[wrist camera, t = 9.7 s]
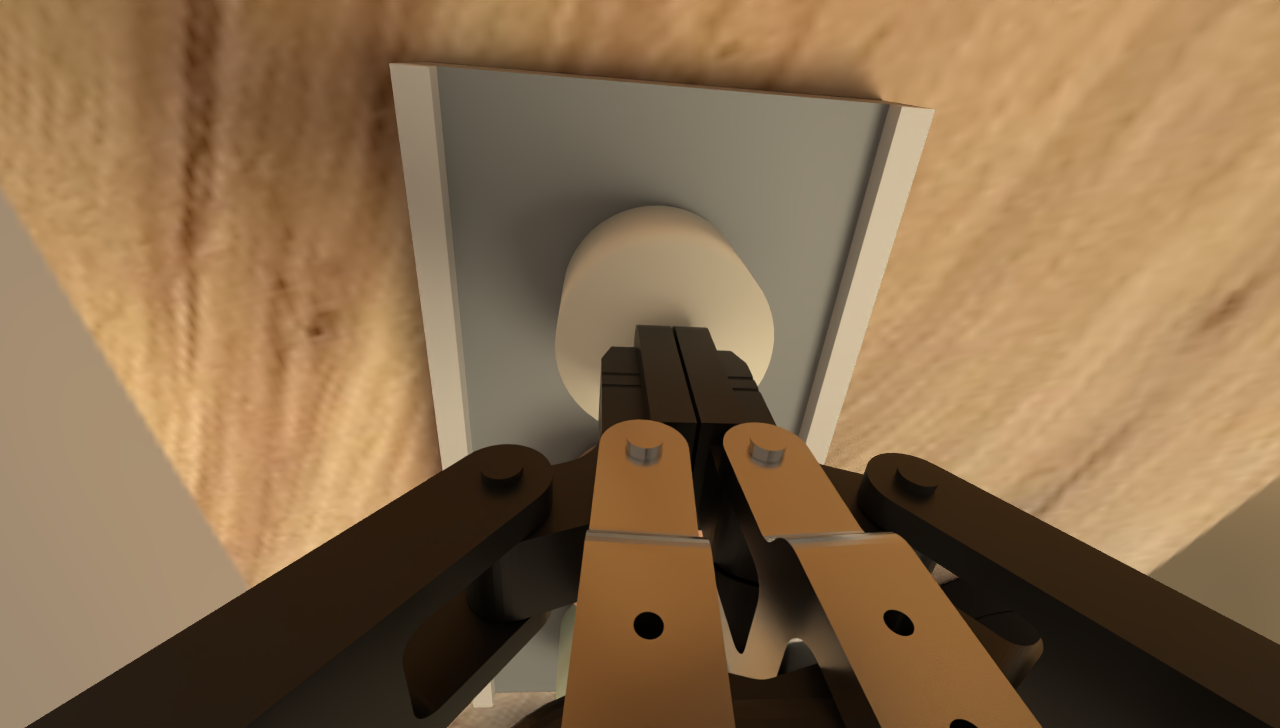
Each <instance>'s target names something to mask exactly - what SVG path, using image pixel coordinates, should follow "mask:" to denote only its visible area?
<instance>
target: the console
mask: <svg viewBox="0 0 1280 728" xmlns="http://www.w3.org/2000/svg"><path fill="white" fill-rule="evenodd" d="M389 66H390V73H391V81H392V89H393V96H394V104H395V112H396V119H397V127H398V134H399V142H400V150H401V157H402V165H403V172H404V180H405V188H406V195H407V203H408V211H409V218H410V226H411V233H412V241H413V249H414V256H415V264H416V272H417V279H418V287H419V294H420V302H421V310H422V317H423V325H424V332H425V340H426V348H427V355H428V363H429V371H430V378H431V386H432V393H433V401H434V409H435V416H436V424H437V432H438V439H439V447H440V454H441V462H442V470H444V469H446V468H448V467H449V466H451V465H453V464H454V463H456V462H457V461H459V460H461V459H462V458H464V457H466V456H467V455H469V454H471V453H473V452H474V451H477V450H479V449H482V448H485V447H489V446H493V445H499V444H516V445H522V446H526V447H530V448H532V449H535V450H537V451H538V452H540V453H541V454H543V455H544V456H545V457H546V458H547V459H548V461H549V462H550V464H551V465H555V464H560V463H565V462H569V461H572V460H575V459H577V458H578V457H579V456H580V455H582V454H583V453H584V452H585V451H587V450H588V449H590V448H591V447H593V446H595V445H597V444H598V436H599V435H598V420H596V419H594V418H593V417H592V416H591V415H589V414H588V413H587V412H585V411H584V410H583V409H582V408H581V407H580V406H579V405H578V404H577V403H576V401H575V400H574V399H573V397H572V396H571V395H570V393H569V392H568V390H567V388H566V387H565V385H564V383H563V381H562V378H561V376H560V373H559V371H558V366H557V362H556V355H555V336H556V328H557V321H558V315H559V309H560V302H561V296H562V290H563V284H564V278H565V274H566V270H567V267H568V264H569V262H570V259H571V257H572V255H573V253H574V252H575V250H576V248H577V247H578V245H579V244H580V243H581V241H582V240H583V239H584V238H585V237H586V236H587V235H588V234H589V232H590V231H591V230H593V229H594V228H595V227H596V226H598V225H599V224H600V223H601V222H603V221H605V220H606V219H608V218H610V217H612V216H613V215H616V214H618V213H620V212H623V211H625V210H629V209H633V208H636V207H643V206H670V207H676V208H680V209H684V210H687V211H690V212H692V213H694V214H697V215H699V216H700V217H702V218H704V219H705V220H707V221H709V222H710V223H711V224H712V225H714V226H715V227H716V228H717V229H718V230H719V231H720V232H721V233H722V234H723V235H724V236H725V237H726V238H727V240H728V241H729V243H730V244H731V246H732V247H733V249H734V250H735V252H736V253H737V255H738V256H739V258H740V259H741V260H742V262H743V263H744V265H745V266H746V268H747V269H748V271H749V272H750V274H751V275H752V277H753V278H754V280H755V281H756V282H757V284H758V285H759V287H760V288H761V290H762V291H763V293H764V295H765V297H766V299H767V302H768V304H769V307H770V310H771V314H772V318H773V325H774V345H773V351H772V356H771V359H770V363H769V366H768V368H767V370H766V373H765V375H764V377H763V379H762V380H761V382H760V384H759V385H758V388H759V392H761V394H762V396H763V399H764V401H765V403H766V405H767V407H768V409H769V411H770V413H771V415H772V417H773V419H774V421H775V423H776V425H777V426H778V427H781V428H783V429H786V430H788V431H790V432H792V433H793V434H795V435H796V436H798V437H799V438H800V439H801V440H803V441H804V442H805V444H806V445H807V446H808V448H809V449H810V451H811V452H812V454H813V455H814V457H815V458H816V460H817V461H818V463H819V464H822V465H824V463H825V460H826V456H827V453H828V450H829V447H830V444H831V440H832V437H833V434H834V431H835V428H836V425H837V421H838V418H839V415H840V412H841V409H842V405H843V402H844V399H845V396H846V393H847V389H848V386H849V383H850V380H851V377H852V374H853V370H854V367H855V364H856V361H857V358H858V354H859V351H860V348H861V345H862V342H863V338H864V335H865V332H866V329H867V326H868V323H869V319H870V316H871V313H872V310H873V307H874V303H875V300H876V297H877V294H878V291H879V287H880V284H881V281H882V278H883V275H884V272H885V268H886V265H887V262H888V259H889V256H890V252H891V249H892V246H893V243H894V240H895V237H896V233H897V230H898V227H899V224H900V221H901V217H902V214H903V211H904V208H905V205H906V201H907V198H908V195H909V192H910V189H911V186H912V182H913V179H914V176H915V173H916V170H917V166H918V163H919V160H920V157H921V154H922V150H923V147H924V144H925V141H926V138H927V135H928V131H929V128H930V125H931V122H932V119H933V115H934V112H935V109H930V108H924V107H918V106H912V105H906V104H900V103H895V102H889V101H881V100H870V99H858V98H846V97H834V96H823V95H811V94H799V93H787V92H776V91H764V90H752V89H740V88H729V87H717V86H705V85H693V84H682V83H670V82H658V81H646V80H635V79H623V78H611V77H599V76H588V75H576V74H564V73H552V72H541V71H529V70H517V69H505V68H494V67H482V66H470V65H458V64H447V63H435V62H406V63H389ZM572 605H573V604H570V605H567V606H564V607H560V608H557V609H554V610H552V611H551V614H550V617H549V618H548V620H547V622H546V623H545V625H544V626H543V627H542V628H541V629H540V630H539V631H538V632H537V634H536V635H535V636H534V637H533V638H532V639H531V640H530V641H529V642H528V643H527V644H526V645H525V646H524V647H523V648H522V649H521V650H520V651H519V652H518V653H517V654H516V655H515V657H514V658H513V659H512V660H511V661H510V662H509V663H508V664H507V665H506V666H505V667H504V668H503V669H502V670H501V671H500V672H499V673H498V674H497V675H496V676H495V677H494V678H493V680H492V681H491V682H490V683H489V684H488V685H487V686H486V687H485V688H484V689H483V690H482V691H481V692H480V693H479V694H478V695H477V696H476V697H475V698H474V699H473V706H474V708H480V707H493V704H494V698H495V693H511V692H556V682H557V667H558V653H559V638H560V626H561V621H562V618H563V616H564V614H565V613H566V611H567V610H568V609H569V608H570V607H571V606H572ZM726 661H727V658H726ZM727 669H728V673H730V670H729V666H728V662H727Z"/></svg>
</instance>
